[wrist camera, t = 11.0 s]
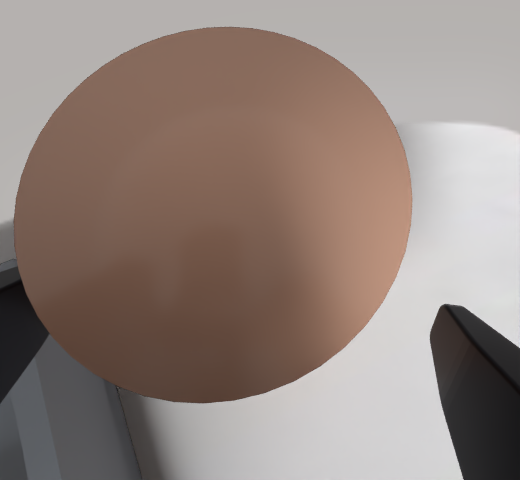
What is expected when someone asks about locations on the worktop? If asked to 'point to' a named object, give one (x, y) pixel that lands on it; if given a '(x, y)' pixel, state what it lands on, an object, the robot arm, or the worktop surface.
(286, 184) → the terracotta cylinder
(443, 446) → the worktop surface
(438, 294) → the worktop surface
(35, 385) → the tote
